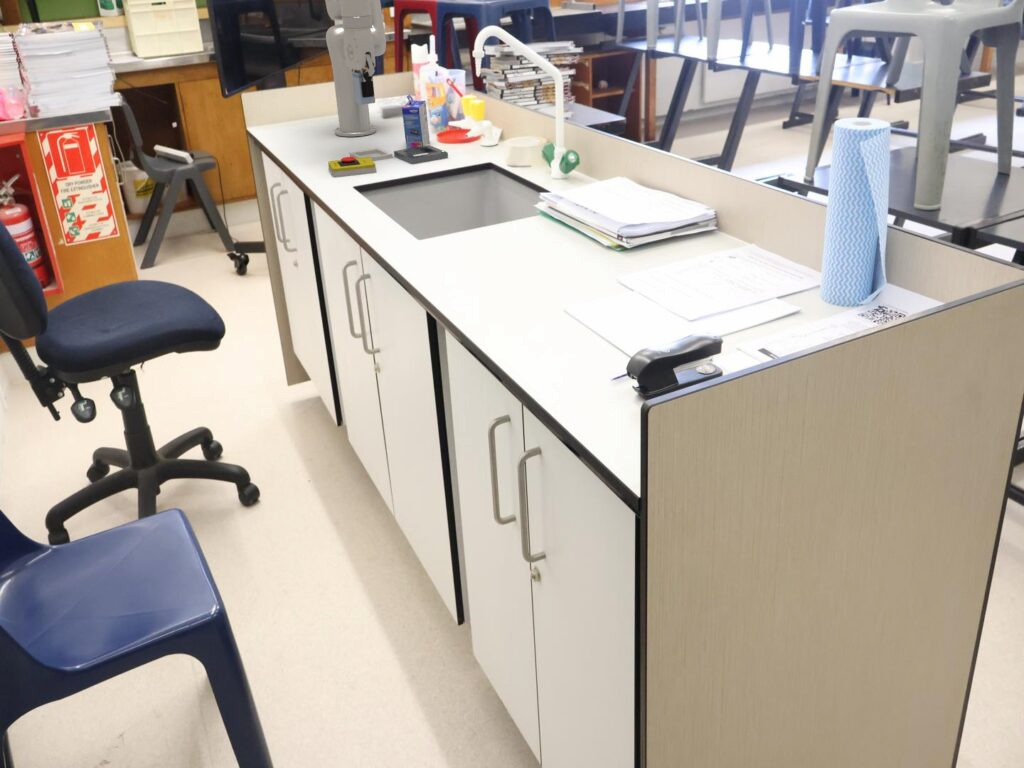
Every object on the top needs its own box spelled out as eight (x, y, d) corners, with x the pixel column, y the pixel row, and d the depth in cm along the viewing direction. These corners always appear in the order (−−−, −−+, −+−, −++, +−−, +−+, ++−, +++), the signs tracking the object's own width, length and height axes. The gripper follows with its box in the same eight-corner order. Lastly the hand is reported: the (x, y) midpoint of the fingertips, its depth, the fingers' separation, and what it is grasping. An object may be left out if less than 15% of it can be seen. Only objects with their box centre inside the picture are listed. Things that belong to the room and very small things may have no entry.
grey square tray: (349, 158, 254) (349, 152, 253) (379, 153, 258) (378, 148, 257) (362, 164, 247) (362, 159, 247) (392, 159, 251) (392, 154, 251)
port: (394, 158, 253) (393, 149, 251) (429, 152, 258) (429, 144, 256) (412, 166, 244) (411, 157, 243) (448, 159, 249) (447, 151, 248)
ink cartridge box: (411, 142, 269) (407, 92, 262) (430, 142, 268) (426, 91, 262) (404, 150, 260) (400, 98, 253) (423, 150, 260) (420, 98, 253)
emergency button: (321, 157, 240) (377, 151, 244) (323, 173, 242) (378, 167, 246) (326, 165, 232) (383, 158, 236) (328, 182, 234) (385, 175, 238)
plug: (355, 102, 246) (352, 71, 242) (369, 100, 248) (366, 70, 244) (361, 104, 243) (358, 73, 239) (375, 102, 245) (372, 71, 241)
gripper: (331, 21, 241) (339, 93, 249) (356, 27, 228) (364, 102, 237) (357, 19, 244) (364, 89, 253) (384, 24, 232) (390, 98, 240)
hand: (364, 94), depth 245 cm, fingers closed on plug, 4 cm apart
